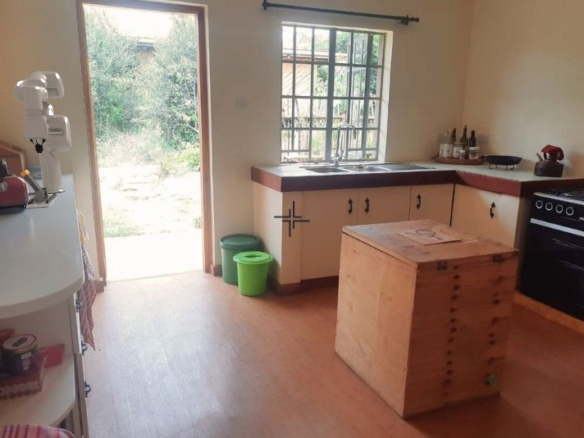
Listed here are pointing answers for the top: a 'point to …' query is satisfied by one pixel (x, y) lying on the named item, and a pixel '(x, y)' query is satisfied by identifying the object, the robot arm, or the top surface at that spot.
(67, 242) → the top surface
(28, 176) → the lever
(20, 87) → the robot arm
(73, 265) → the top surface
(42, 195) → the panel
